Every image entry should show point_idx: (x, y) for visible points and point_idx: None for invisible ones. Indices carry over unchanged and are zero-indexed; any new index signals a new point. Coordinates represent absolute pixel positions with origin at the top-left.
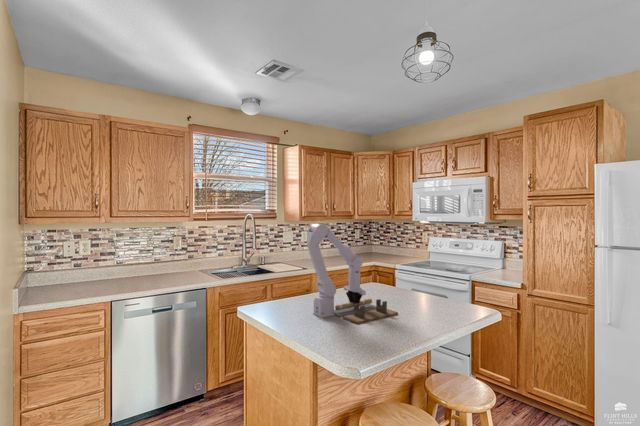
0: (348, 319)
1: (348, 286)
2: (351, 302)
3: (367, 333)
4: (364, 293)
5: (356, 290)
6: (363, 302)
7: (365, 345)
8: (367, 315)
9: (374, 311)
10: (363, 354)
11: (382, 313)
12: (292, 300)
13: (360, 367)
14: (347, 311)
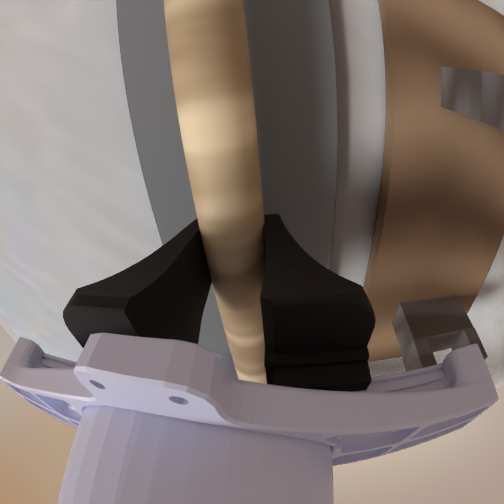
0: (393, 354)
1: (20, 384)
2: (243, 307)
3: (493, 338)
4: (475, 378)
5: (351, 461)
6: (252, 125)
7: (499, 363)
8: (452, 257)
9: (440, 134)
10: (500, 374)
11: (500, 131)
12: (19, 335)
13: (501, 384)
14: None
